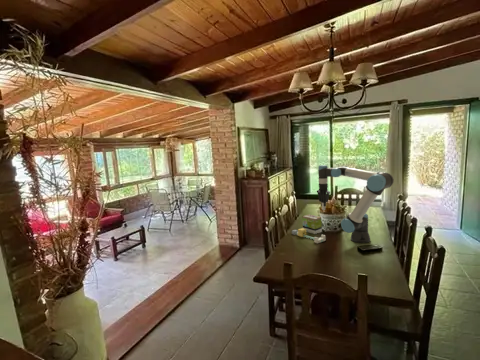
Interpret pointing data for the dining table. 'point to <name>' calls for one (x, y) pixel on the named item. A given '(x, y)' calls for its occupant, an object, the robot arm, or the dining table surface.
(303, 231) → the sleeve
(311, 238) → the cord
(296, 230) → the connector
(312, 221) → the tea box
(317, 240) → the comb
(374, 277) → the dining table surface
